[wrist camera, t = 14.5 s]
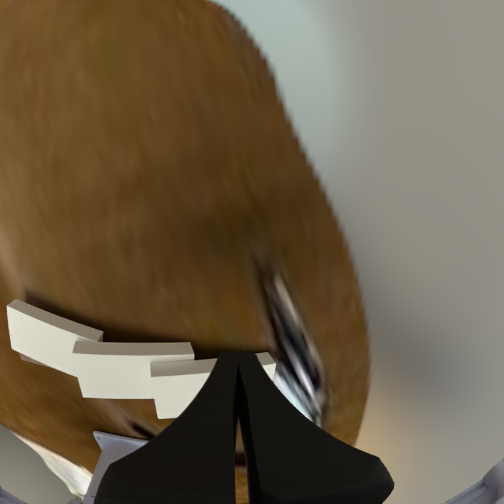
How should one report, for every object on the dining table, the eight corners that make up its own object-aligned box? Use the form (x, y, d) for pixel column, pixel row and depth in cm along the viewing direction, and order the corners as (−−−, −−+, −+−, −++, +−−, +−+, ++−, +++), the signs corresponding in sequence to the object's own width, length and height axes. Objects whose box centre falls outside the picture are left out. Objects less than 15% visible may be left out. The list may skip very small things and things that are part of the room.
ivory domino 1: (96, 383, 18) (11, 348, 17) (101, 372, 20) (19, 340, 18) (97, 341, 18) (6, 305, 16) (103, 331, 19) (16, 298, 17)
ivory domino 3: (269, 404, 21) (158, 418, 18) (262, 392, 22) (156, 404, 19) (275, 363, 20) (150, 376, 17) (267, 351, 21) (149, 363, 18)
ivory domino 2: (192, 396, 20) (83, 397, 17) (188, 383, 22) (84, 384, 18) (194, 354, 19) (72, 353, 16) (190, 342, 21) (75, 340, 17)
